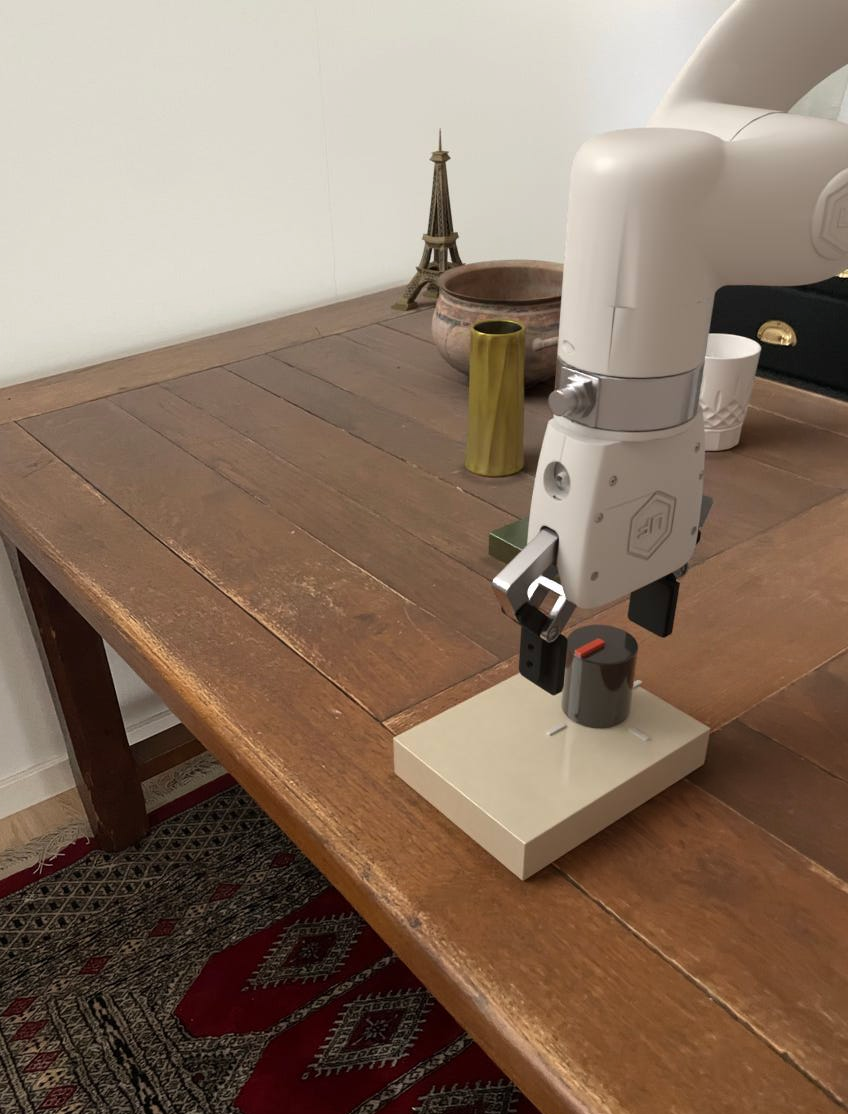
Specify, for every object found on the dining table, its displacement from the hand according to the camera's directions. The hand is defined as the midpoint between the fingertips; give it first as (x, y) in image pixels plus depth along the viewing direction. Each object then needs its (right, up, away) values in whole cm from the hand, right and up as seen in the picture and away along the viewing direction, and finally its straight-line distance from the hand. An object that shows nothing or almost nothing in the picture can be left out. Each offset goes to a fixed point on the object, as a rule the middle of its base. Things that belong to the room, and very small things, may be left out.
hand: (596, 654), depth 64 cm
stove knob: (+1, -3, +2) cm, 4 cm away
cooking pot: (+3, +32, +61) cm, 70 cm away
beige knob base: (-3, -7, +2) cm, 8 cm away
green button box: (+4, +9, +26) cm, 27 cm away
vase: (-1, +19, +41) cm, 45 cm away
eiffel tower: (-3, +51, +90) cm, 103 cm away
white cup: (+22, +22, +44) cm, 54 cm away
